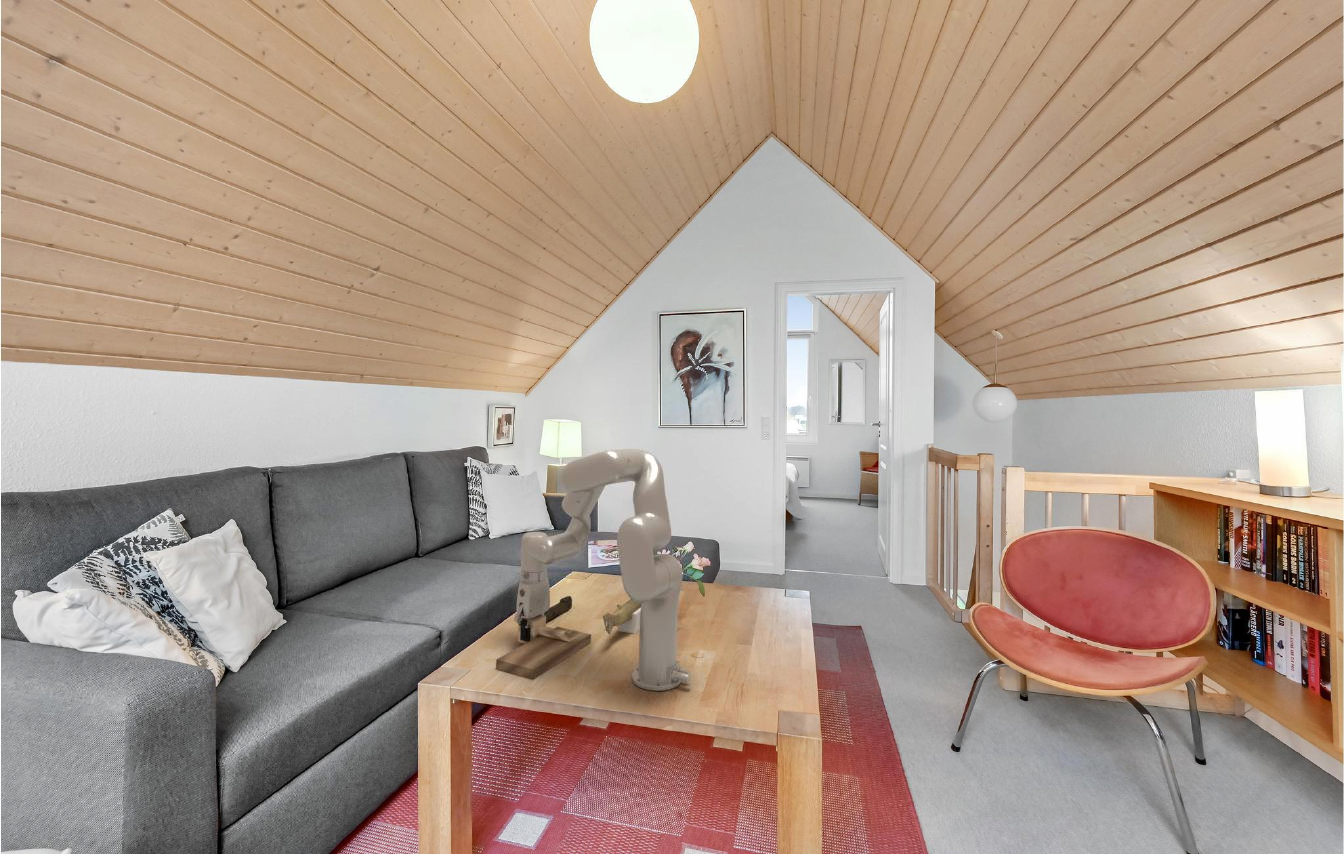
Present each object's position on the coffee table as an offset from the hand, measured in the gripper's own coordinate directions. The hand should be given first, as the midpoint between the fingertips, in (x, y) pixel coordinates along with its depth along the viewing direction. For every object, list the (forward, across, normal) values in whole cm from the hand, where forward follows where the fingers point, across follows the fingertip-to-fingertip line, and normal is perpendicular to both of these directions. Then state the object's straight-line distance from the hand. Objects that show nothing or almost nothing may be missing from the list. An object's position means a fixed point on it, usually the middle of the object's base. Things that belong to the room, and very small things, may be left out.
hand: (531, 636), depth 160 cm
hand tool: (+2, +20, +7) cm, 22 cm away
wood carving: (+2, +20, -21) cm, 29 cm away
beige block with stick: (+1, 0, -5) cm, 6 cm away
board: (+1, -6, -10) cm, 11 cm away
